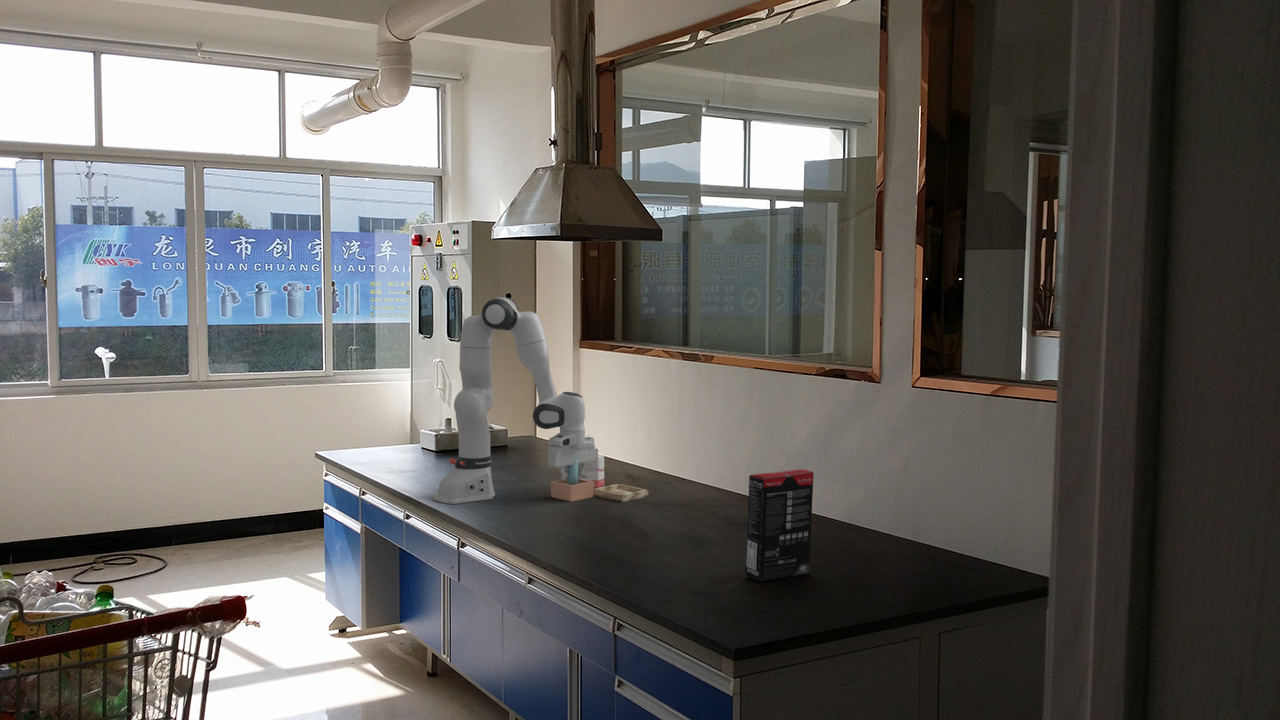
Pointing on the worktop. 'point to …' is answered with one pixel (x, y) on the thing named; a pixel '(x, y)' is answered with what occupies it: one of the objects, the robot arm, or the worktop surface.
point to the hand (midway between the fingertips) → (572, 476)
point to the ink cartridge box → (594, 471)
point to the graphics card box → (779, 524)
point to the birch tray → (620, 492)
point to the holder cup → (572, 490)
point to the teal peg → (572, 473)
